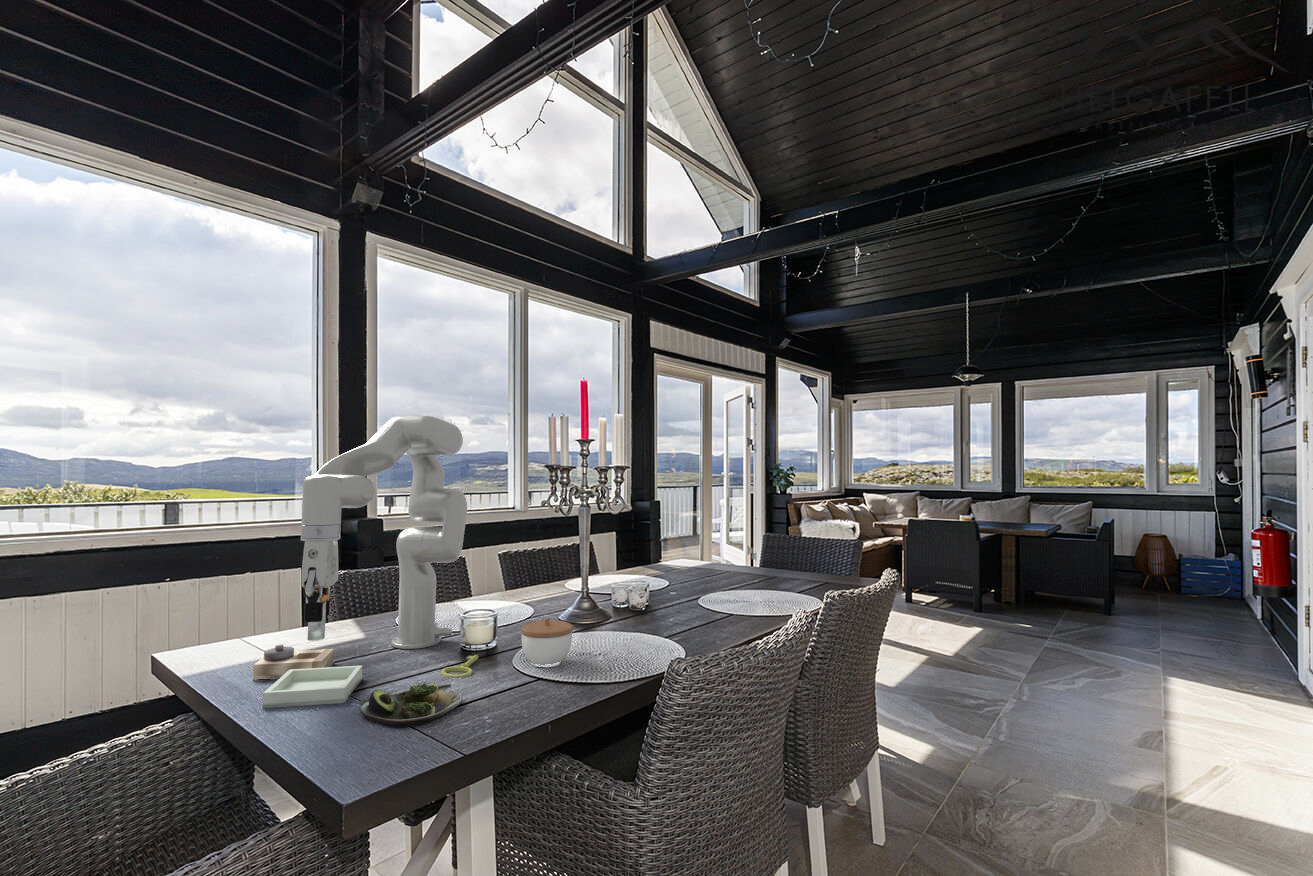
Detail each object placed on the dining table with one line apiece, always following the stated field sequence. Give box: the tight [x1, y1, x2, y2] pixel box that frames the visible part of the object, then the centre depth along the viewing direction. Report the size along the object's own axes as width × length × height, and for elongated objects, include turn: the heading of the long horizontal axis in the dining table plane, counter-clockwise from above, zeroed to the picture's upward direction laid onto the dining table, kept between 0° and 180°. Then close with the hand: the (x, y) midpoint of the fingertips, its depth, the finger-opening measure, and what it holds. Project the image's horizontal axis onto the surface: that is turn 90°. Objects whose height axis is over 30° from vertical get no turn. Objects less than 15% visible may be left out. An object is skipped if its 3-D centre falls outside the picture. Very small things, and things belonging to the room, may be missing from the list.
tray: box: [262, 665, 363, 709], centre depth 134 cm, size 15×15×3 cm
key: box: [440, 654, 479, 679], centre depth 150 cm, size 7×12×2 cm, turn 7°
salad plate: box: [356, 682, 463, 728], centre depth 127 cm, size 19×18×5 cm
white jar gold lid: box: [307, 594, 330, 642], centre depth 134 cm, size 4×4×9 cm
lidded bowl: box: [520, 617, 573, 665], centre depth 155 cm, size 13×13×11 cm
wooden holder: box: [252, 644, 335, 681], centre depth 148 cm, size 14×10×6 cm
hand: (317, 618), depth 134 cm, fingers closed on white jar gold lid, 4 cm apart
